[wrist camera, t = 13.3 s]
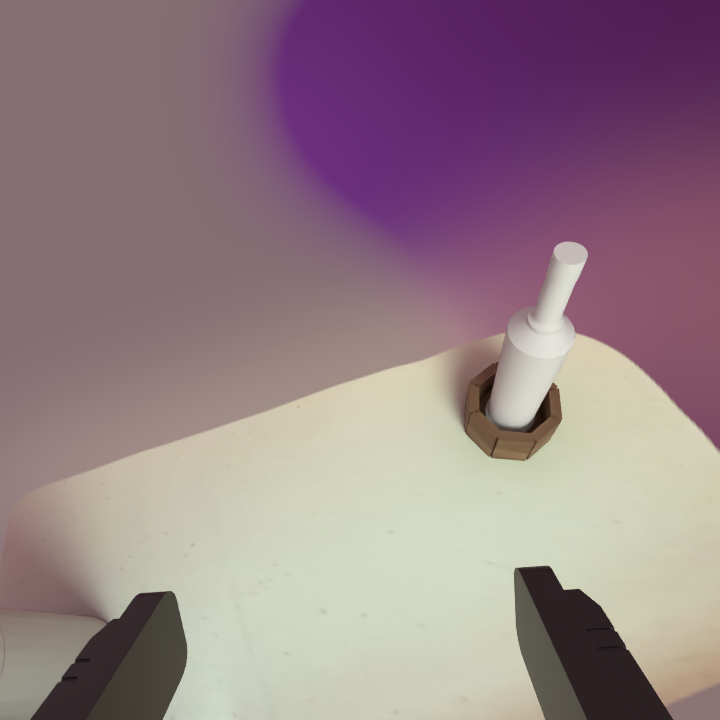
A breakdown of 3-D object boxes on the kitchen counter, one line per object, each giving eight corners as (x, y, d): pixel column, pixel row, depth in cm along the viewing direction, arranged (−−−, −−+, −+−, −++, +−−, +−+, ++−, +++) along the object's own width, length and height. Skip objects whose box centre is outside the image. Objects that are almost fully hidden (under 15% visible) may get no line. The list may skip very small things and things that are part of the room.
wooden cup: (464, 455, 49) (469, 437, 45) (465, 383, 54) (469, 361, 50) (552, 463, 48) (565, 445, 44) (545, 388, 53) (556, 365, 48)
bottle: (539, 436, 49) (629, 275, 28) (491, 444, 49) (545, 290, 28) (522, 394, 51) (593, 218, 30) (477, 402, 51) (517, 232, 30)
